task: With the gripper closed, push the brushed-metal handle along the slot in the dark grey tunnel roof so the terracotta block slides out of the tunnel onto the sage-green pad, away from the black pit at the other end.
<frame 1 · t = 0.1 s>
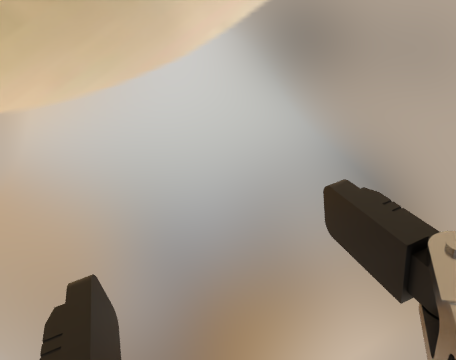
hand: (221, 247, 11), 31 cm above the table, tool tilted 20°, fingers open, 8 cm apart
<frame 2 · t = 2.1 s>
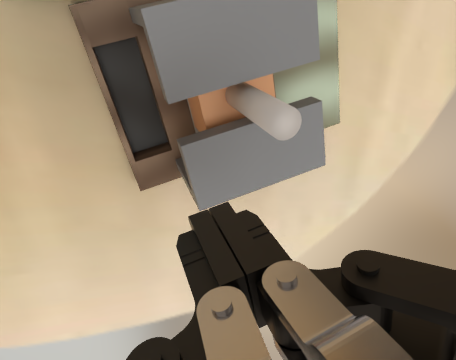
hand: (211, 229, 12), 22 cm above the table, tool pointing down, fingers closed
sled: (243, 97, 24), point 9 cm above the table, slide at 0.0 cm
tunnel: (231, 90, 27), on the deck, point 6 cm above the table
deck: (223, 71, 32), on the table
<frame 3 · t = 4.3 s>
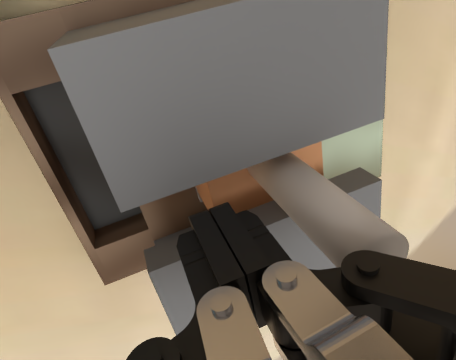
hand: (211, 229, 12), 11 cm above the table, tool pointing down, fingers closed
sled: (277, 170, 15), point 9 cm above the table, slide at 1.1 cm, touching gripper
tunnel: (234, 157, 17), on the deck, point 6 cm above the table
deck: (221, 114, 23), on the table
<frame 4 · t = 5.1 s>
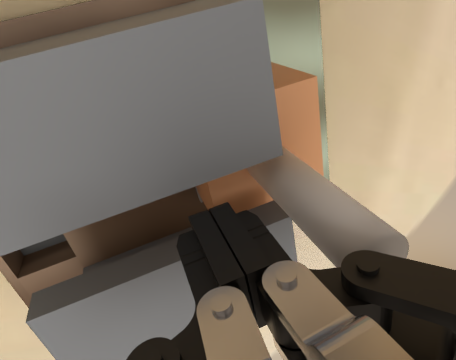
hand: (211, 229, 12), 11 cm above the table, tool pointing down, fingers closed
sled: (277, 171, 15), point 9 cm above the table, slide at 5.8 cm, touching gripper
tunnel: (144, 188, 16), on the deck, point 6 cm above the table
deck: (154, 135, 22), on the table
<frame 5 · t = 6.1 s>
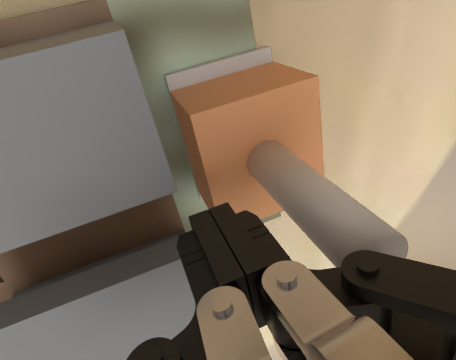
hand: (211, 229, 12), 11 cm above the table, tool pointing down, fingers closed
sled: (278, 170, 15), point 9 cm above the table, slide at 10.1 cm, touching gripper
tunnel: (53, 218, 15), on the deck, point 6 cm above the table
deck: (89, 155, 21), on the table
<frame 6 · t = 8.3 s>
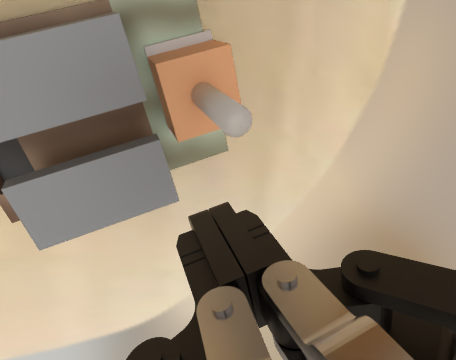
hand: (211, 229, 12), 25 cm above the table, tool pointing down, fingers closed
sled: (207, 98, 26), point 9 cm above the table, slide at 10.0 cm
tunnel: (77, 127, 26), on the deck, point 6 cm above the table
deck: (96, 102, 32), on the table
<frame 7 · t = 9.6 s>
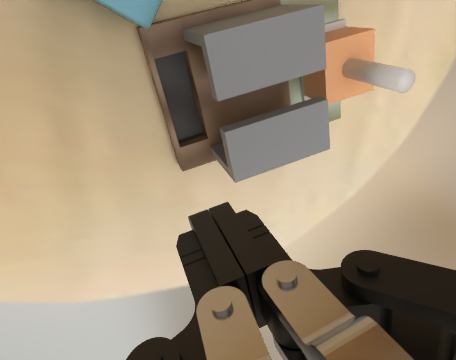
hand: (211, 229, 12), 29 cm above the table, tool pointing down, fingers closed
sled: (357, 69, 35), point 9 cm above the table, slide at 10.0 cm
tunnel: (258, 91, 35), on the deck, point 6 cm above the table
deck: (247, 76, 41), on the table
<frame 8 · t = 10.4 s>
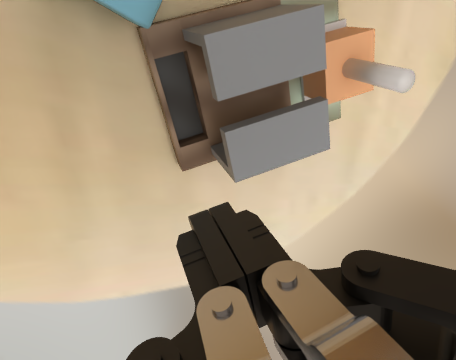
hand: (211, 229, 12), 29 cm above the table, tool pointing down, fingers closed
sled: (357, 69, 35), point 9 cm above the table, slide at 10.0 cm
tunnel: (258, 91, 35), on the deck, point 6 cm above the table
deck: (247, 76, 41), on the table
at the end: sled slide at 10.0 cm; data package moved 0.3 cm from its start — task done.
